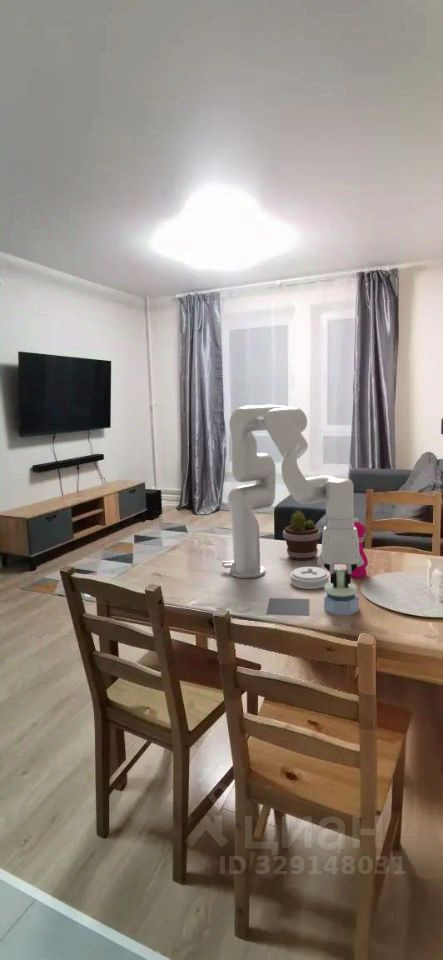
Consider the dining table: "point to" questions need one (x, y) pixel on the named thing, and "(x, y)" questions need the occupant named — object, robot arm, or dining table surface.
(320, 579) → the lid
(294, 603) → the mat
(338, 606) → the bowl
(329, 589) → the cover
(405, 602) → the dining table surface
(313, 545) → the flowerpot
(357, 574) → the pepper mill
